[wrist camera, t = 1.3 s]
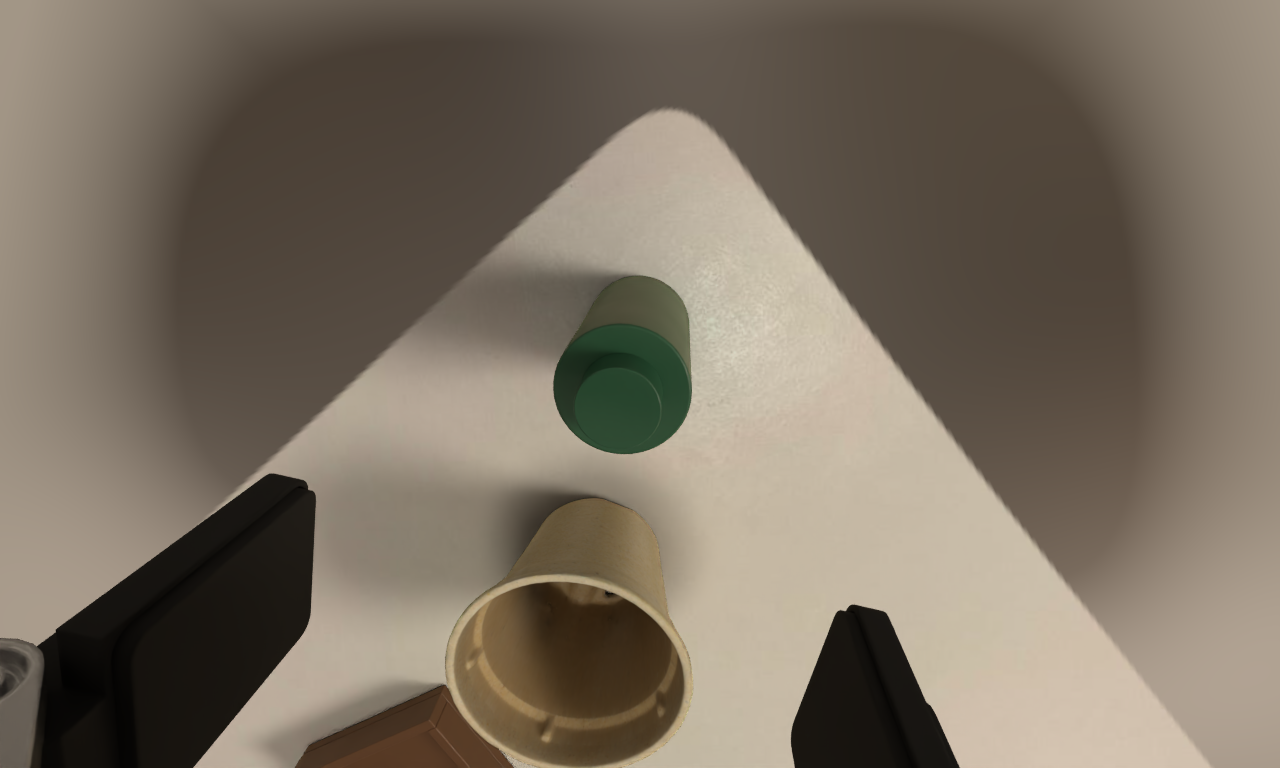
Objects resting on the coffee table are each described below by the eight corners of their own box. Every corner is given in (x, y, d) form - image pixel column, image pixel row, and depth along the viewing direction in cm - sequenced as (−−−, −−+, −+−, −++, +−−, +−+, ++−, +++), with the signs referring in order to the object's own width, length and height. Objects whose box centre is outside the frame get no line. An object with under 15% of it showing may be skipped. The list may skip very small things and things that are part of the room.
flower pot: (467, 551, 33) (395, 681, 24) (584, 427, 30) (547, 528, 22) (606, 655, 34) (582, 810, 26) (729, 547, 32) (745, 682, 23)
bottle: (570, 306, 28) (514, 382, 19) (657, 256, 27) (644, 309, 18) (621, 389, 29) (593, 499, 20) (707, 343, 28) (719, 436, 19)
